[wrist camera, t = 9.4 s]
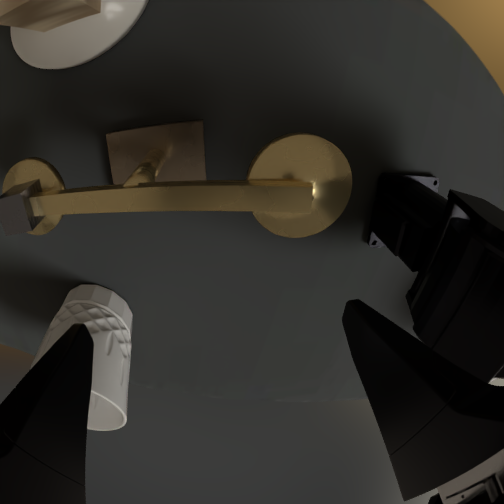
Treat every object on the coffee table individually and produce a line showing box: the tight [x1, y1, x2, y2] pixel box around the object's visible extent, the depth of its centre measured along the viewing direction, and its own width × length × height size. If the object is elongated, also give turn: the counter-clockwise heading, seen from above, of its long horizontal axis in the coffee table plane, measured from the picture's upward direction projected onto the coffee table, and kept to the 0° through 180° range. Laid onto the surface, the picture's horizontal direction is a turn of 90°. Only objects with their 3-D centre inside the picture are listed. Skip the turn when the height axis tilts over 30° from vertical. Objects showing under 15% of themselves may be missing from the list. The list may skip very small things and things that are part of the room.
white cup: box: [29, 285, 133, 431], centre depth 19 cm, size 8×8×10 cm
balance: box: [0, 119, 352, 238], centre depth 13 cm, size 18×4×9 cm, turn 90°
